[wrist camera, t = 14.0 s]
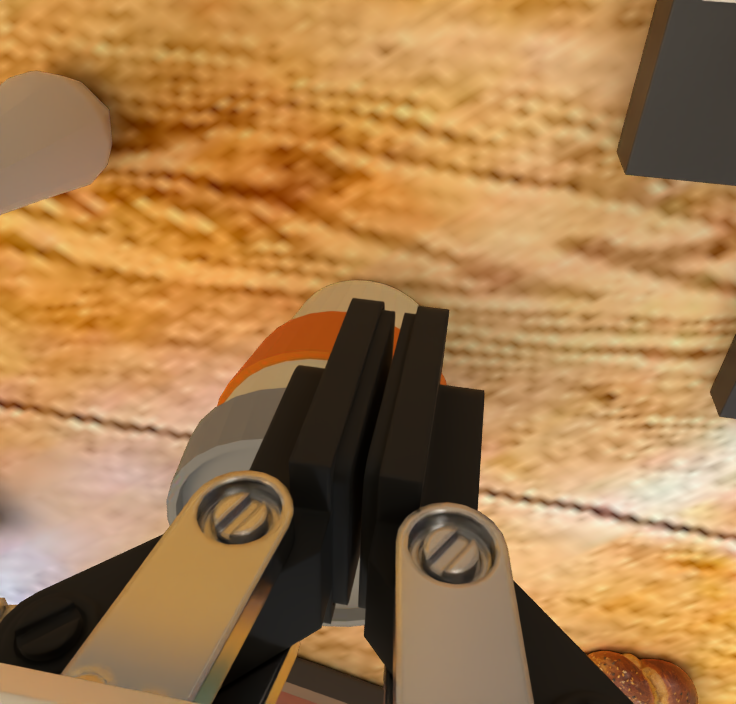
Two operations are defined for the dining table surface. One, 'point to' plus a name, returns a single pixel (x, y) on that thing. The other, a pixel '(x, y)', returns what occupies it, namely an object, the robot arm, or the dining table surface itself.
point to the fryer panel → (685, 96)
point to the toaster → (326, 687)
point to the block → (726, 385)
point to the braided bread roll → (646, 678)
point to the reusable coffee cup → (276, 398)
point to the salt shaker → (49, 138)
